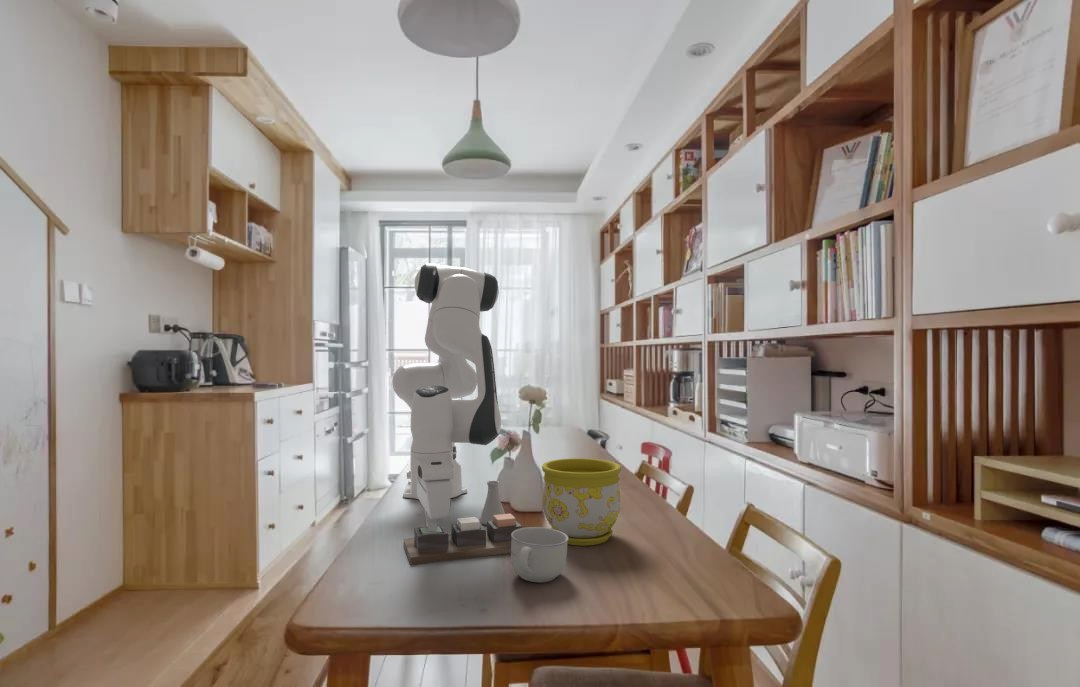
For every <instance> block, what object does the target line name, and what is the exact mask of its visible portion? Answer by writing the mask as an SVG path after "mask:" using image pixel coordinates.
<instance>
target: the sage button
mask: <svg viewBox="0 0 1080 687" xmlns="http://www.w3.org/2000/svg"><path fill="white" fill-rule="evenodd" d="M439 526H440V525H437V530H436V531H431V532H430V531H429V530H428V528H427V527H426V526H424V527H425V528H421V527H419V528H420V533H421V535H429V534H438V533H442V530H441V528H440V527H439Z"/></svg>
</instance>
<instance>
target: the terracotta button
mask: <svg viewBox="0 0 1080 687" xmlns="http://www.w3.org/2000/svg"><path fill="white" fill-rule="evenodd" d="M516 521H517V520H516V517H515V516H514V515H513V514H512V513H505V514H500V515H493V524H494V525H495V526H496V527H507V526H516Z"/></svg>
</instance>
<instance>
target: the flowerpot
mask: <svg viewBox="0 0 1080 687" xmlns="http://www.w3.org/2000/svg"><path fill="white" fill-rule="evenodd" d="M541 469H542V472H543V473H544V476H543V478H542V479H543V486H542V487H543V488H542V498H541V499H542V500H541V501H542V508H543V509H542V510H543V513H544V516H545V519H546V521H547V523H548V524H549V525H550V528H551V529H554V530H558V531H561V532H563V533H565V534H566V535H567V536H568V542H567V545H571V546H579V547H581V546H583V547H584V546H587V547H588V546H595V545H600V544H603V543H605V542H607V541H608V540H609V538H610V537H611V536H612V535H613V533H614V532H613V529H612V528H613V526H614V525H615V524H616V522H617V519H618V517H619V514H620V510H621V489H620V484H619V481H620V477H619V474H620V473H621V471H622V467H621V465H620V464H619V463H616V462H614V461H609V460H606V459H599V458H598V459H597V458H586V457H585V458H583V457H582V458H579V457H578V458H577V457H575V458H574V457H572V458H571V457H570V458H561V459H554V460H549V461H546V462H545V463H543V464H542V466H541Z"/></svg>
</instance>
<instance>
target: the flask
mask: <svg viewBox="0 0 1080 687" xmlns="http://www.w3.org/2000/svg"><path fill="white" fill-rule="evenodd" d="M486 484H487V494H486V498H485V502H484V505H483V508H482V511H481V512H480V513H481V514H480V517H479V519H478V520H479V522H480V523H481V525H484V526H487V521H492V520H493V515H500V514H506V513H505V509H504V508H503V504H502V501H501V498H500V492H499V485H500V481H499V480H488V481H486Z"/></svg>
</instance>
